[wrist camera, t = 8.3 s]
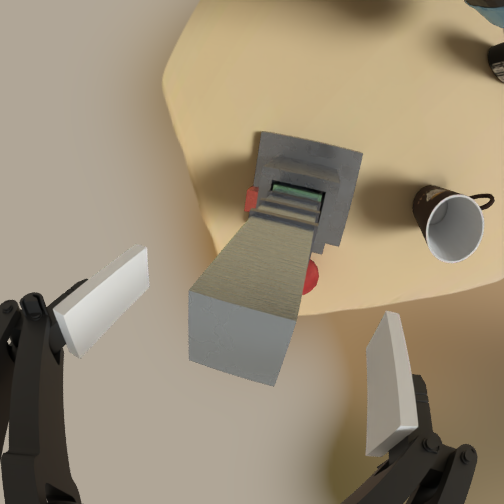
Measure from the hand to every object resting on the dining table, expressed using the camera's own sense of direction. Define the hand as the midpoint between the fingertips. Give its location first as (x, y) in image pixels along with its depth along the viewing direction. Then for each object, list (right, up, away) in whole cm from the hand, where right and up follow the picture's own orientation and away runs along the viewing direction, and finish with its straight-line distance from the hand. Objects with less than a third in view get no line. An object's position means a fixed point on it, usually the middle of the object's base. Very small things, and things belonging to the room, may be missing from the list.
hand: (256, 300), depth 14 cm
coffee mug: (+28, +9, +20) cm, 36 cm away
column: (+5, +8, +17) cm, 19 cm away
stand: (+7, +12, +25) cm, 29 cm away
